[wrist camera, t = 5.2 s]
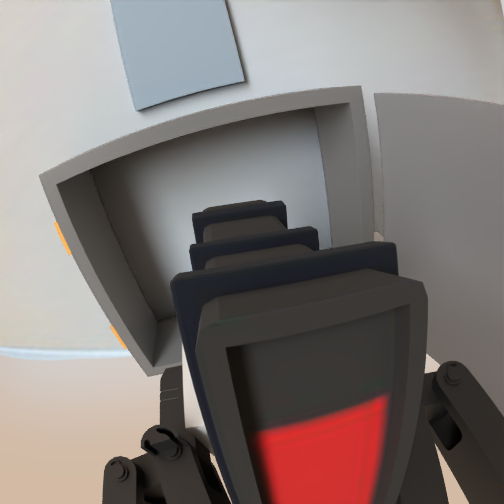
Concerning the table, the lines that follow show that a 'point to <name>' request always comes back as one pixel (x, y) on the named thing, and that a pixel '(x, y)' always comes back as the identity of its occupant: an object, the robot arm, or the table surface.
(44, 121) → the table surface
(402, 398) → the magazine
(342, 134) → the case
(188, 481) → the robot arm
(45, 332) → the table surface
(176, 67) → the mat
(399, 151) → the lid
